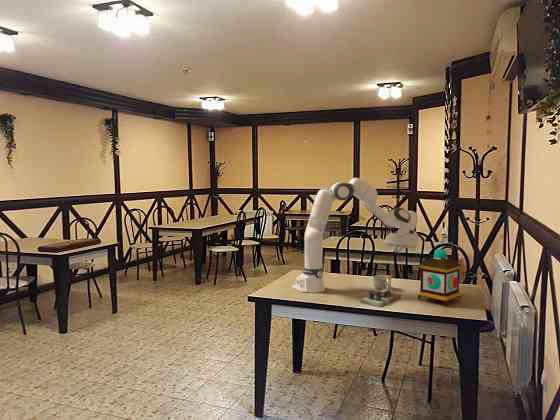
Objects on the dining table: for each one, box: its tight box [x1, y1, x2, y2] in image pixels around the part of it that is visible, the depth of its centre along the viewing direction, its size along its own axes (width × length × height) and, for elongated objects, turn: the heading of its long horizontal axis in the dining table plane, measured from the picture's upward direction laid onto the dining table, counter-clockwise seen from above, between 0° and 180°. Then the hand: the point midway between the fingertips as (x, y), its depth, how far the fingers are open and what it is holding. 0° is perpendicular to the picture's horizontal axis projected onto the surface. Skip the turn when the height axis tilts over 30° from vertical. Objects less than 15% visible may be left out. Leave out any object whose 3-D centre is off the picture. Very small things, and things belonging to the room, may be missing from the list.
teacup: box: [372, 274, 388, 291], centre depth 270 cm, size 14×11×8 cm
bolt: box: [380, 274, 393, 295], centre depth 247 cm, size 10×3×10 cm, turn 137°
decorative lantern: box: [417, 247, 462, 308], centre depth 241 cm, size 20×20×30 cm
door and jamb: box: [359, 289, 402, 308], centre depth 244 cm, size 24×12×6 cm, turn 137°
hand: (396, 252), depth 257 cm, fingers closed
